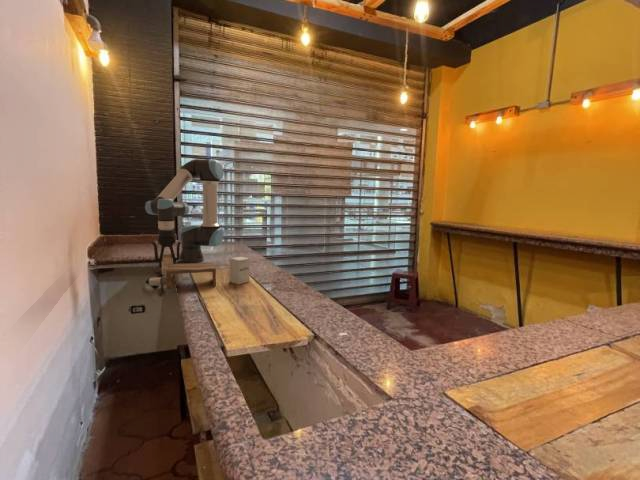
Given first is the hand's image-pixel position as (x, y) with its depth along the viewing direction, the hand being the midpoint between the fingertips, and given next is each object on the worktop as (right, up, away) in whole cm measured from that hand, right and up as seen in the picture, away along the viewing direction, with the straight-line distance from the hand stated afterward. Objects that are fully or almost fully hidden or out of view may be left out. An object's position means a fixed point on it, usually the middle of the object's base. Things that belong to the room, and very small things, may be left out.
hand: (168, 273), depth 174 cm
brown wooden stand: (+16, -5, -8) cm, 18 cm away
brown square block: (-1, -5, -10) cm, 11 cm away
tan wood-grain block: (+2, -3, -6) cm, 7 cm away
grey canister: (+38, -5, -1) cm, 38 cm away
